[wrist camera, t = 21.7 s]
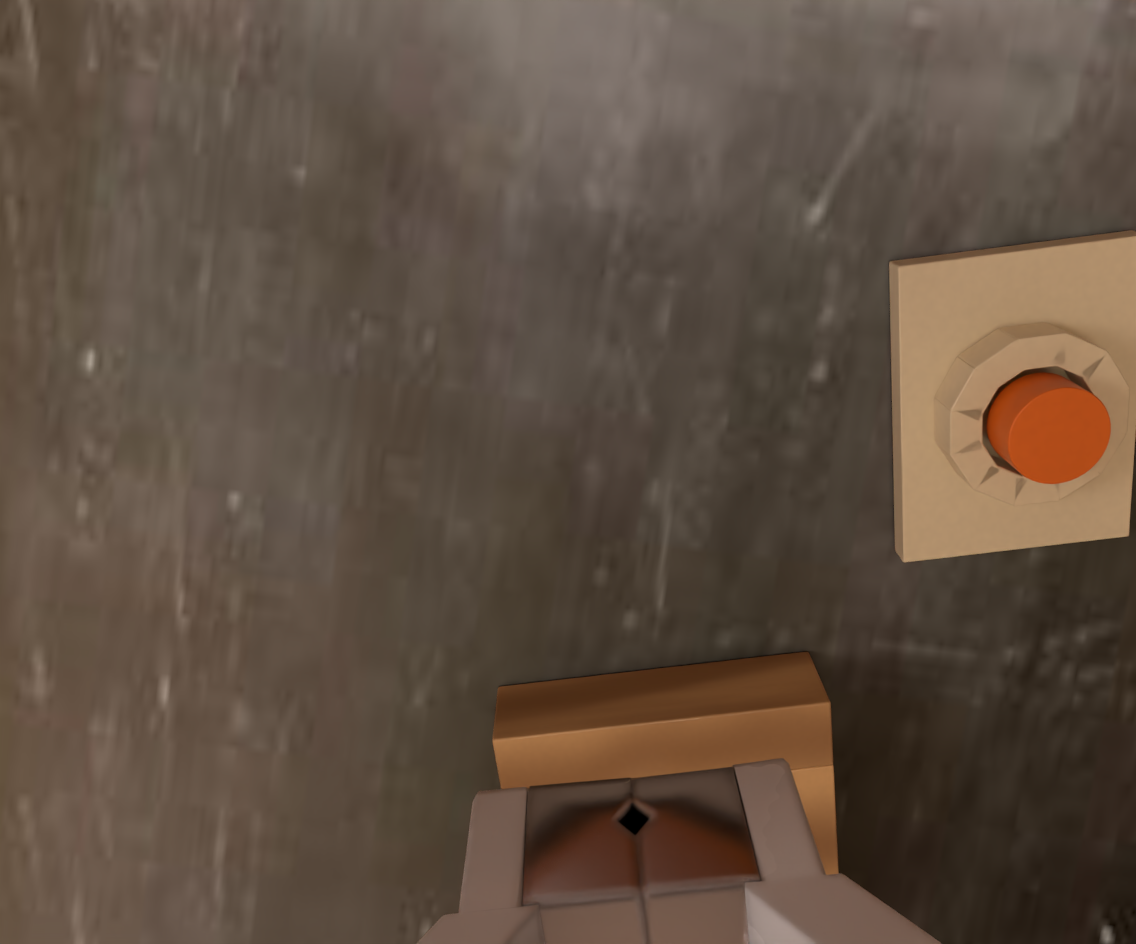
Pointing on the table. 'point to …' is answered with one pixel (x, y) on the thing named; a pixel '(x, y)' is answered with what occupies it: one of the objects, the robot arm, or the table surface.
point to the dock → (675, 728)
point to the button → (1048, 428)
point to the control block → (985, 367)
